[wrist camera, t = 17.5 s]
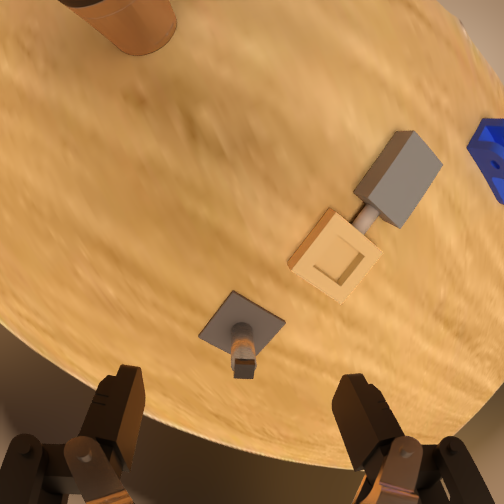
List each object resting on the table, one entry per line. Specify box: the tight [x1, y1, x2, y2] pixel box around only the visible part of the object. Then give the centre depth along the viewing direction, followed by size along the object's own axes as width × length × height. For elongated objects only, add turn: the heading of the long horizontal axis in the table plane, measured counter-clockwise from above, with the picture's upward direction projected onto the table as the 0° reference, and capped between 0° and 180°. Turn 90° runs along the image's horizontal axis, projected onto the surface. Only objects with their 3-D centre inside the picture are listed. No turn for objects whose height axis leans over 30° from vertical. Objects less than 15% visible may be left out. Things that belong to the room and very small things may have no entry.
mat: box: [198, 291, 286, 356], centre depth 45 cm, size 10×10×1 cm
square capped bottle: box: [231, 322, 257, 379], centre depth 41 cm, size 3×3×10 cm
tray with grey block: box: [287, 131, 443, 305], centre depth 38 cm, size 26×10×5 cm, turn 144°
